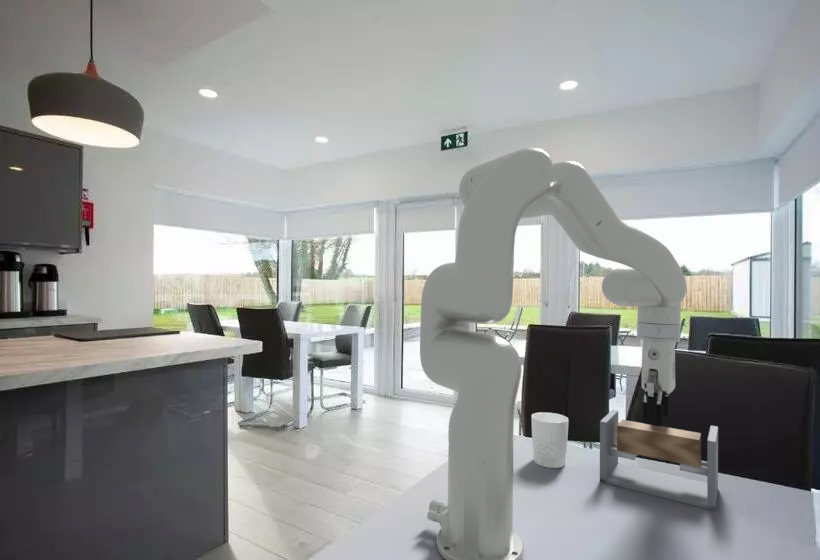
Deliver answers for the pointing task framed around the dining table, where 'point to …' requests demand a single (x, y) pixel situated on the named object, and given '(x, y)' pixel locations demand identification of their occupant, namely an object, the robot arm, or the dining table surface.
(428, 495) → the dining table surface
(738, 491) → the dining table surface
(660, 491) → the peg frame
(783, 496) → the dining table surface
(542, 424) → the white cup
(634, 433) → the shelf board
